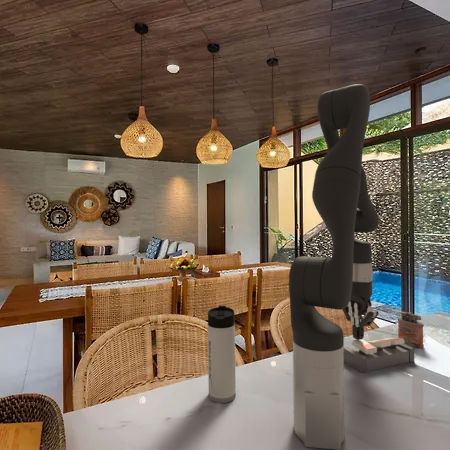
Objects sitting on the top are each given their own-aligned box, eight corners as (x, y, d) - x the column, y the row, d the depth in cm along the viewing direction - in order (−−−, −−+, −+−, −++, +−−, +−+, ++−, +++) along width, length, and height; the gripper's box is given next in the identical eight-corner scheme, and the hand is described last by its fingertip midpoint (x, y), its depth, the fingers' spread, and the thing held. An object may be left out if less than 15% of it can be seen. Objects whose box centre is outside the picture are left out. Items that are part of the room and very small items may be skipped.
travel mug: (236, 388, 74) (235, 305, 74) (234, 404, 68) (233, 313, 67) (210, 387, 75) (209, 305, 75) (206, 403, 68) (205, 313, 68)
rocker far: (389, 342, 92) (387, 337, 92) (404, 343, 87) (403, 338, 87) (380, 343, 91) (379, 339, 91) (395, 344, 86) (394, 339, 86)
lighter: (395, 340, 102) (395, 310, 102) (402, 338, 104) (401, 309, 103) (419, 349, 95) (419, 317, 95) (426, 347, 96) (426, 315, 96)
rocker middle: (375, 344, 90) (374, 339, 91) (391, 345, 85) (389, 340, 86) (366, 346, 89) (365, 341, 89) (381, 347, 84) (380, 342, 84)
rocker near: (361, 342, 89) (361, 338, 89) (376, 352, 84) (377, 347, 83) (351, 344, 88) (352, 339, 88) (366, 354, 83) (367, 349, 82)
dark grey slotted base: (392, 351, 94) (391, 338, 94) (414, 361, 87) (414, 347, 87) (342, 360, 88) (342, 346, 88) (362, 372, 81) (361, 357, 81)
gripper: (331, 275, 92) (331, 332, 93) (365, 283, 80) (365, 349, 80) (351, 273, 95) (352, 329, 95) (387, 281, 82) (387, 345, 83)
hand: (358, 338), depth 88 cm, fingers closed
